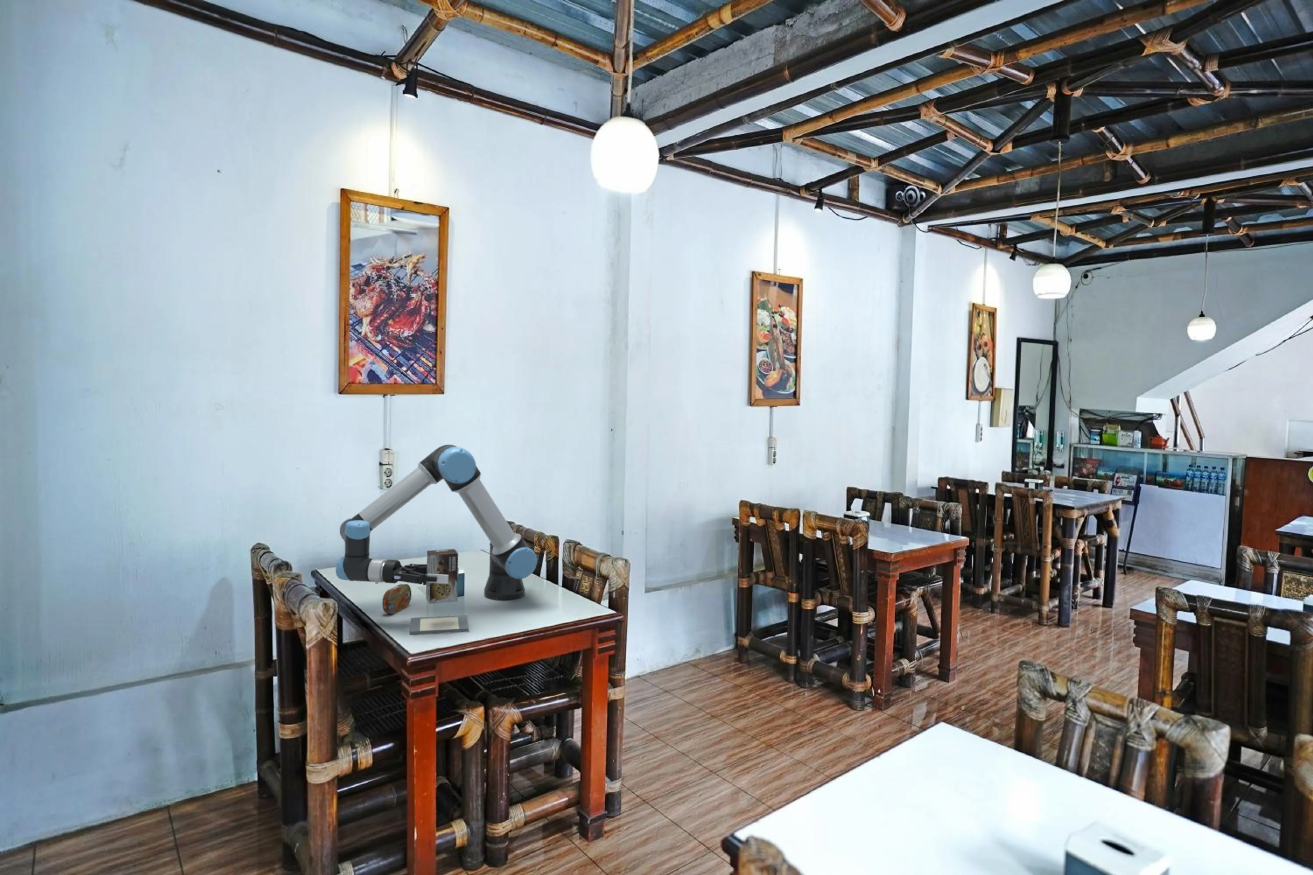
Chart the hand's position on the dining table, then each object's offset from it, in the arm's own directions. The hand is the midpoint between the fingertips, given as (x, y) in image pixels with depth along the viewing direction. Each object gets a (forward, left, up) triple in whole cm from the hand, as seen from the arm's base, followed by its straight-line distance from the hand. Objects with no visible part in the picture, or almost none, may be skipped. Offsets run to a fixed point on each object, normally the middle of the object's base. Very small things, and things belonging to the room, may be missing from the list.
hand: (453, 575), depth 242 cm
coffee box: (+3, -1, -9) cm, 9 cm away
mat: (+4, -3, -17) cm, 18 cm away
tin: (+18, -22, -18) cm, 34 cm away
